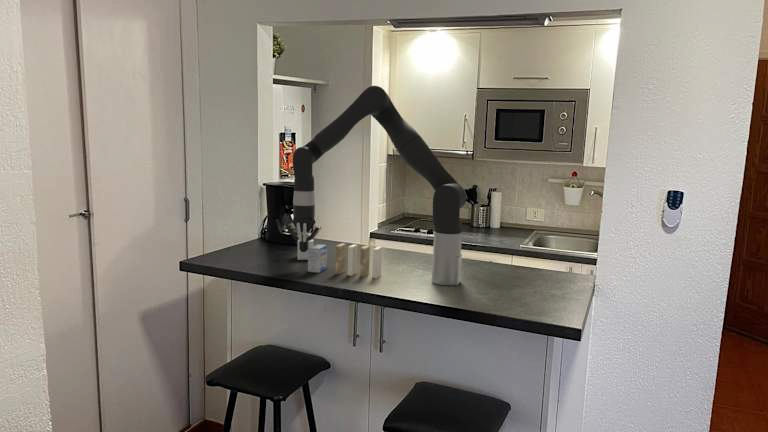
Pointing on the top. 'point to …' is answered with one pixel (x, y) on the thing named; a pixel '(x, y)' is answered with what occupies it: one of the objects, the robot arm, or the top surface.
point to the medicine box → (317, 258)
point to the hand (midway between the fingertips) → (303, 251)
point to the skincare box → (304, 254)
